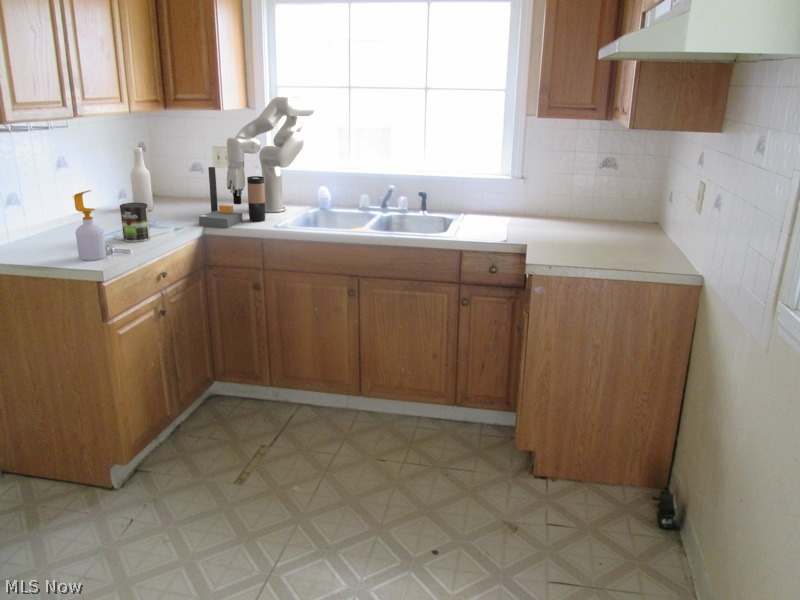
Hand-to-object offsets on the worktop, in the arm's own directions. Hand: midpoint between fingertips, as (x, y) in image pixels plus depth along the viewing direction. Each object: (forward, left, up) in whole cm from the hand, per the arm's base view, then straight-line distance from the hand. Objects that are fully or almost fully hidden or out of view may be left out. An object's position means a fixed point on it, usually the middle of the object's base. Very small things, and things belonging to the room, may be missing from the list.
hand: (237, 203), depth 306 cm
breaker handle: (+12, 0, -2) cm, 12 cm away
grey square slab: (+17, 0, -6) cm, 18 cm away
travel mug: (+5, +12, -6) cm, 14 cm away
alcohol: (+4, -49, -6) cm, 49 cm away
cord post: (+5, -10, -6) cm, 12 cm away
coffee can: (+55, -17, -6) cm, 57 cm away
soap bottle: (+84, -15, -6) cm, 85 cm away
